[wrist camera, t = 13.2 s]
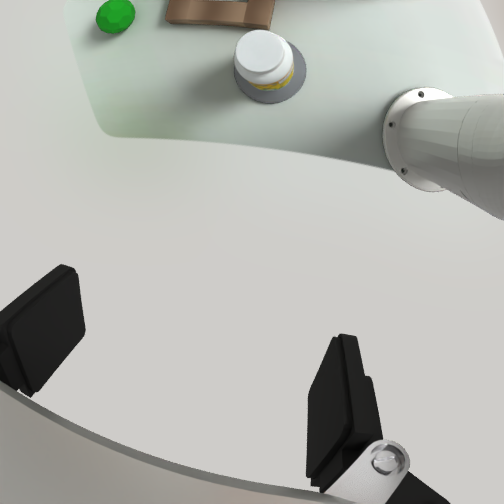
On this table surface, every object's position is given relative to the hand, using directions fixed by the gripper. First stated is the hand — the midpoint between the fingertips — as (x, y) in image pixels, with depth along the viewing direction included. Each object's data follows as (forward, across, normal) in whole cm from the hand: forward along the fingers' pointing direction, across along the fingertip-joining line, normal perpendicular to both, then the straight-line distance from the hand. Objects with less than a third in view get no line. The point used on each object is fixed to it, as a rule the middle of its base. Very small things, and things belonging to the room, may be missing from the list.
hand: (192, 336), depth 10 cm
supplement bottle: (+28, +2, -13) cm, 31 cm away
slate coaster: (+28, +2, -13) cm, 31 cm away
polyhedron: (+29, +22, -19) cm, 41 cm away
